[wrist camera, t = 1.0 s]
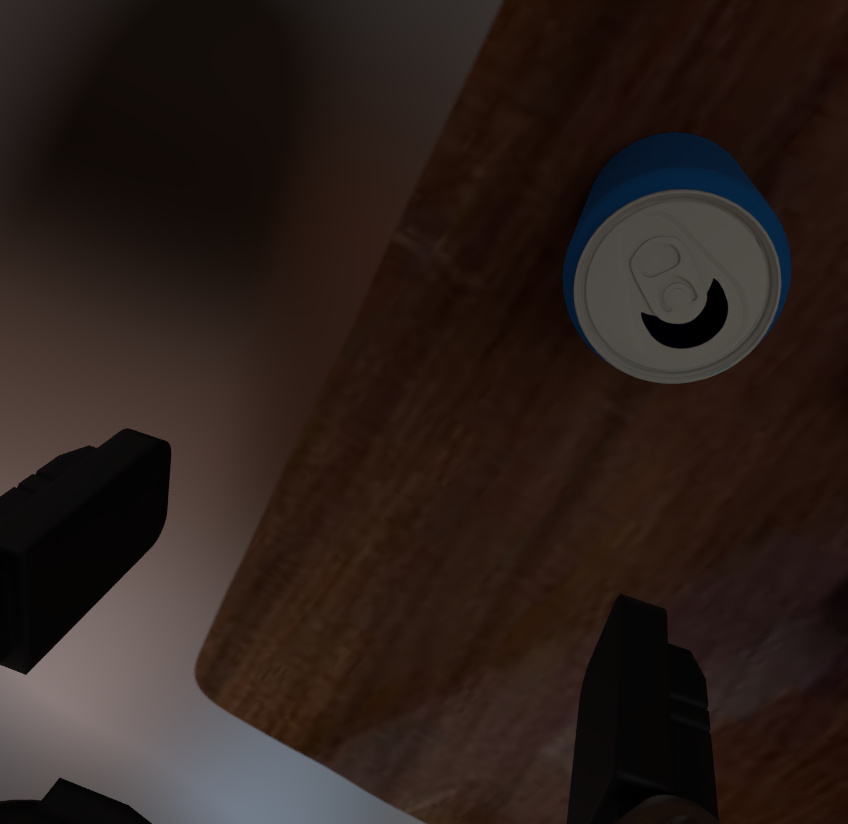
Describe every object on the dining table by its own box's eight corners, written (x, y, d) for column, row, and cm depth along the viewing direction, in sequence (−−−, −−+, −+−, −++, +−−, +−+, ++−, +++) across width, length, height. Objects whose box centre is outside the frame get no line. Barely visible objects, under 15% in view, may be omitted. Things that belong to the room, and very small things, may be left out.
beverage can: (628, 313, 35) (619, 429, 24) (559, 182, 33) (518, 245, 23) (775, 243, 32) (836, 340, 22) (708, 97, 31) (739, 125, 20)
